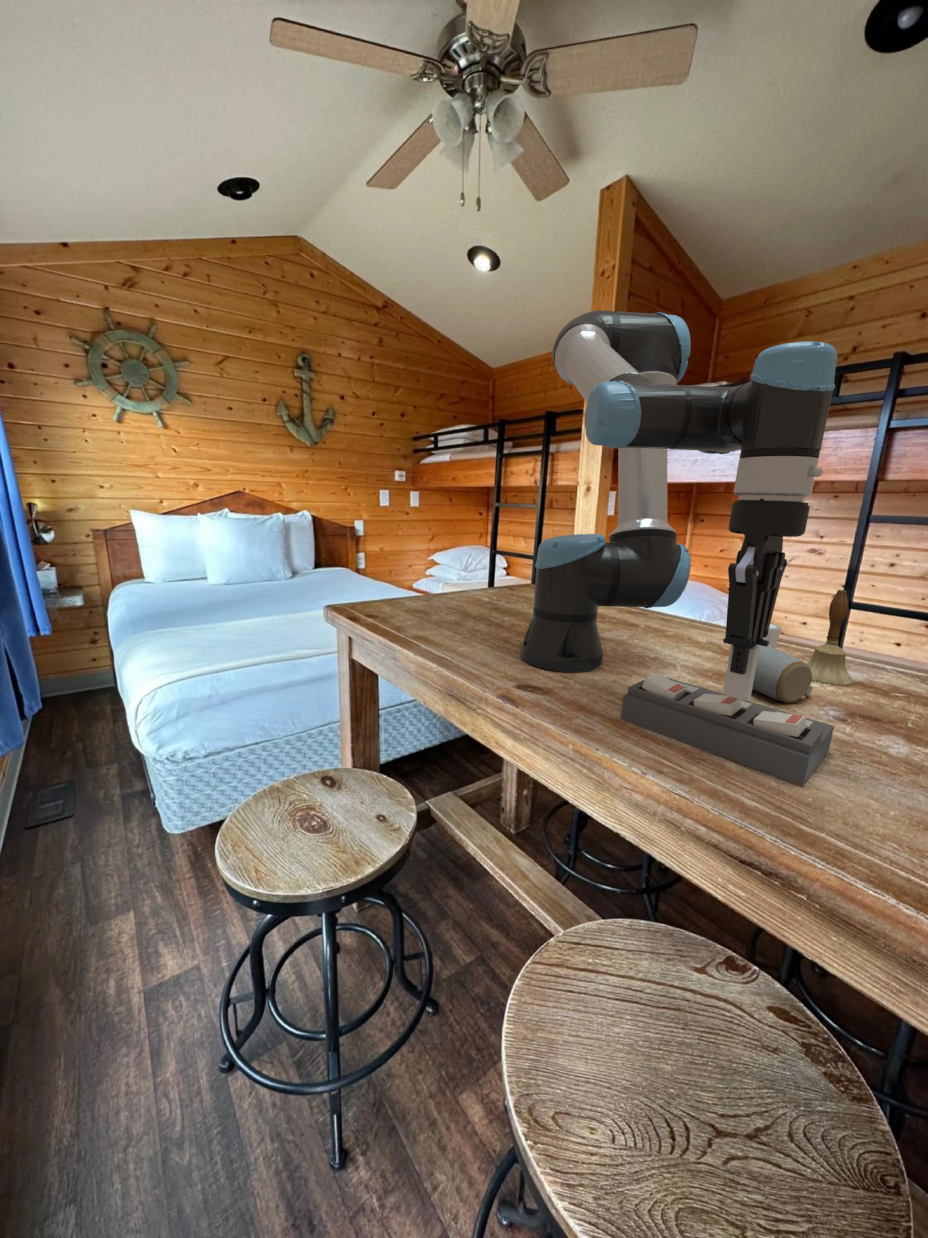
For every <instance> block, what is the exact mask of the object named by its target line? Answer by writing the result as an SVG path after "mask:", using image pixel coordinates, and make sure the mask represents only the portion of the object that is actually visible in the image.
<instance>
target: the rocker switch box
mask: <svg viewBox="0 0 928 1238" xmlns="http://www.w3.org/2000/svg"><path fill="white" fill-rule="evenodd" d="M665 677H666V678H668V679H670V680H672V681H674V682H676V683H678V684H679V685H681V686H683V687H685V688H687V689H686V691H685V694H684V696H683V697H682V698H680V699H679V700H677V701H676V700H673V699H669V698H666V697H663V696H660V695H657V694H654V693H651V692H649V691H647V690H645V689H643V688H642V686H643V683H644V680H645V679H643V680H641V681H638V682H636V683H634V684H632V685H630V686H628V687H627V693H625V694H623V695H622V703H621V711H620V719H621V720H622V721H623V720H624V721H626V722H628V723H631V724H633V725H636V726H639V727H641V728H644V729H647V730H649V731H652V732H655V733H658V734H661V735H663V736H666V737H668V738H670V739H674V740H677V741H679V742H682V743H684V744H686V745H690V746H691V747H692V746H693V747H695V748H698V749H700V750H702V751H706V752H708V753H710V754H713V753H714V754H713V755H716V754H717V756H719V757H722V758H725V759H726V760H729V759H731V760H730V761H732V760H733V762H735V763H737V762H738V764H740V765H742V766H745V767H749V768H751V769H754V770H756V771H759V772H761V773H764V774H767V775H770V776H773V777H775V778H778V779H781V780H783V781H786V782H789V783H791V784H794V785H797V786H799V787H801V788H803V787H804V786H805V785H806V784H807V782H808V780H809V779H810V778H811V777H812V775H813V774H814V773H815V771H816V769H817V768H818V767H819V765H820V764H821V762H822V761H823V759H824V758H825V757H826V755H827V754H828V753H829V750H830V747H831V742H832V738H833V733H834V729H835V725H833V724H829V723H826V722H823V721H819V720H814V719H812V718H808V717H806V728H805V729H804V730H803V732H802V733H801V734H800V735H799V736H798V737H795V736H788V735H782V734H779V733H776V732H773V731H770V730H767V729H764V728H760V727H757V726H754V720H753V719H754V718H755V717H757V716H758V715H759V714H760V713H761V712H763V711H768V712H777V713H786V714H792V713H791V712H788V711H784V710H780V709H778V708H774V707H770V706H768V705H767V706H766V705H763V704H760V703H757V702H753V701H749V700H747V701H745V700H741V707H742V708H741V709H740V710H738V711H737V712H736V713H734V714H733V715H732V716H729V715H721V714H717V713H713V712H710V711H707V710H704V709H701V708H698V707H695V706H694V700H695V699H697V698H698V697H700V696H702V695H703V694H714V695H724V694H723V692H718V691H715V690H711V689H709V688H705V687H701V686H697V685H695V684H691V683H687V682H684V681H681V680H676V679H675V678H671V677H667V676H665ZM724 696H727V695H724Z"/></svg>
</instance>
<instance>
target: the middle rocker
mask: <svg viewBox="0 0 928 1238" xmlns="http://www.w3.org/2000/svg"><path fill="white" fill-rule="evenodd" d="M694 706H695V707H698V708H701V709H704V710H707V711H710V712H713V713H717V714H721V715H729V716H732V715H733V714H734V713H736V712H737V711H738V710H740V709H741V708H742V707H741V699H738V698H734V697H731V696H724V695H714V694H703V695H702V696H700V697H698V698H697V699H695V700H694Z"/></svg>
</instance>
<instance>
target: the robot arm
mask: <svg viewBox="0 0 928 1238" xmlns="http://www.w3.org/2000/svg"><path fill="white" fill-rule="evenodd" d="M691 346H692V345H691V334H690V330H689V327H688V325H687V323H686V321H685V320H684V319H683V318H682V317H680V316H678V315H675V314H667V313H665V312H662V311H658V312H653V313H648V312H632V311H631V312H630V311H618V310H617V311H616V310H605V309H603V310H593V311H589V312H585V313H583V314H580V315H578V316H576V317H575V318H573V319H571V320H570V321H569V322H567V323H566V325H564V326H563V328H562V329H561V330H560V331H559V333H558V334H557V336H556V338H555V340H554V343H553V347H552V362H553V366H554V369H555V370H556V372H557V374H558V376H559V377H560V378H561V379H562V380H563V381H565V382H566V383H567V384H570V385H573V386H574V387H575V388H576V389H577V391H578V393H579V394H580V395H581V396H582V398H583V400H585V402H586V407H585V412H584V428H585V437H586V439H587V441H588V442H589V443H591V444H592V445H594V446H602V447H609V448H610V449H611V448H612V449H618V451H617V452H618V453H617V455H618V460H617V461H618V462H617V463H618V465H617V466H618V471H617V472H618V473H617V474H618V476H617V478H618V479H617V480H618V481H617V482H618V483H617V485H618V486H617V490H618V491H617V496H618V497H617V500H618V501H617V502H618V503H617V526H616V527H615V529H613V531H612V532H610V534H609V542H607V540H606V538H605V536H604V535H603V534H601V533H584V534H583V533H579V534H578V533H577V534H565V535H558V536H553V537H549V538H545V539H544V540H542V541H541V542H540V544H539V545H538V549H537V554H536V560H535V561H536V562H535V565H534V567H535V568H536V569H535V579H534V580H535V581H534V598H533V610H532V611H533V612H532V619H531V621H530V623H529V626H528V628H527V630H526V633H525V636H524V639H523V642H522V644H521V650H520V651H521V652H520V657H521V659H522V660H523V661H524V662H525V663H527V664H529V665H531V666H534V667H536V668H540V669H544V670H548V671H554V672H563V673H582V672H588V671H593V670H596V669H599V668H600V667H601V666H602V665H603V656H604V651H603V647H602V643H601V637H600V634H599V630H598V624H597V620H598V611H599V607H617V608H618V607H621V608H622V607H623V608H625V607H626V608H644V609H651V608H666V607H670V606H671V605H673V604H675V603H677V601H678V600H679V599H680V598H681V596H682V595H683V592H684V591H685V589H686V587H687V585H688V582H689V579H690V574H691V568H692V567H691V566H692V565H691V564H692V561H691V560H692V559H691V554H690V552H689V549H688V548H687V546H685V545H684V544H682V543H677V531H676V530H675V529H674V527H672V526H671V525H669V522H668V450H680V451H682V450H685V451H698V452H699V453H703V454H707V455H708V454H710V455H712V454H713V455H714V454H715V455H716V454H719V455H726V454H729V453H731V452H736V451H740V454H739V460H738V462H737V463H738V464H737V468H736V469H737V470H736V476H735V481H734V487H733V494H734V495H735V496H738V500H734V503H731V511H730V515H729V517H730V518H729V524H728V530H729V532H731V533H733V534H738V535H743V536H744V537H743V538H744V539H743V541H742V545H741V548H740V550H738V551H737V554H736V559H735V560H736V561H735V562H730V564H729V565H728V567H727V568H728V569H727V572H728V573H727V574H728V583H729V584H728V585H729V586H728V595H727V596H728V598H727V609H726V610H727V611H726V612H727V613H726V624H725V625H726V626H725V636H724V638H723V639H722V643H723V644H727V645H730V649H729V656H728V661H727V667H726V675H725V679H724V685H723V686H724V687H723V690H722V694H724V695H727V696H731V697H734V698H738V699H741V700H745V701H749V700H750V699H751V698H752V692H753V689H752V687H753V682H754V676H755V671H756V665H757V660H758V654H759V649H760V647H757V645H761V646H765V647H767V646H768V644H769V641H767V640H763V637H764V638H766V637H767V635H768V630H769V626H770V623H772V622H771V621H772V617H773V613H774V610H775V606H776V601H777V598H778V595H779V590H780V586H781V581H782V579H783V577H784V576H783V575H784V573H785V569H786V567H787V566H788V560H787V559H786V552H783V547H784V545H783V543H784V537H786V538H788V537H789V538H793V537H794V538H795V537H796V538H797V537H802V536H803V535H804V534H805V533H806V529H807V524H808V519H809V513H810V509H811V508H810V507H811V505H809V502H804V500H805V498H809V497H810V496H812V495H813V490H814V485H815V478H818V477H820V476H822V475H823V473H824V471H823V468H822V467H819V466H818V462H819V458H820V454H821V449H822V445H823V441H824V440H823V439H824V436H825V435H824V434H825V430H826V426H827V421H828V416H829V410H830V408H831V407H830V405H831V402H832V397H833V392H834V390H835V388H836V385H835V376H836V368H837V361H838V353H837V352H838V351H837V349H836V348H835V346H833V345H832V344H830V343H826V342H822V341H808V340H807V341H796V342H788V343H787V342H786V343H782V344H778V345H777V344H776V345H774V346H771V347H768V348H766V349H764V350H762V351H761V352H760V353H759V354H758V356H757V357H756V358H755V361H754V363H753V367H752V368H753V369H752V371H751V373H750V381H749V382H746V383H743V384H741V385H736V386H711V385H709V386H708V385H686V384H678V383H679V382H680V381H681V380H682V378H683V377H684V375H685V373H686V370H687V368H688V365H689V361H688V359H689V358H690V357H691V348H692V347H691Z"/></svg>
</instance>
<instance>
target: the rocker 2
mask: <svg viewBox="0 0 928 1238" xmlns="http://www.w3.org/2000/svg"><path fill="white" fill-rule="evenodd" d="M806 718H807V717H806V715H801V714H794V713H791V714H786V713H777V712H768V711H763V712H761V713H760V714H759V715H758V716H757V717H755V718H754V719H753V720H754V726H757V727H760V728H764V729H767V730H770V731H773V732H776V733H779V734H782V735H788V736H795V737H798V736H799V735H800V734H801V733H802V732H803V730H804V729H805V728H806Z"/></svg>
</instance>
